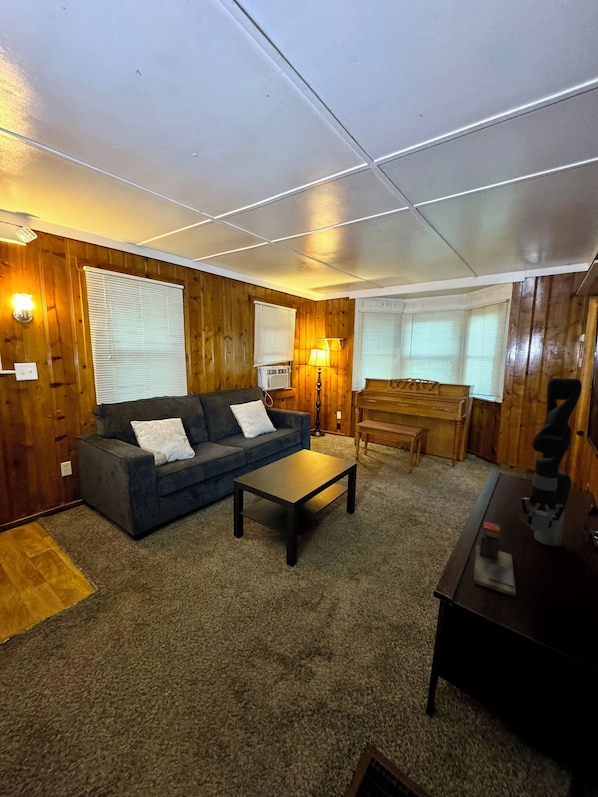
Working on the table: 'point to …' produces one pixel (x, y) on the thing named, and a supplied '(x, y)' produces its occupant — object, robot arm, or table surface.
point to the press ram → (491, 530)
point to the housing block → (540, 521)
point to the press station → (494, 566)
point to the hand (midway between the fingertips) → (538, 525)
